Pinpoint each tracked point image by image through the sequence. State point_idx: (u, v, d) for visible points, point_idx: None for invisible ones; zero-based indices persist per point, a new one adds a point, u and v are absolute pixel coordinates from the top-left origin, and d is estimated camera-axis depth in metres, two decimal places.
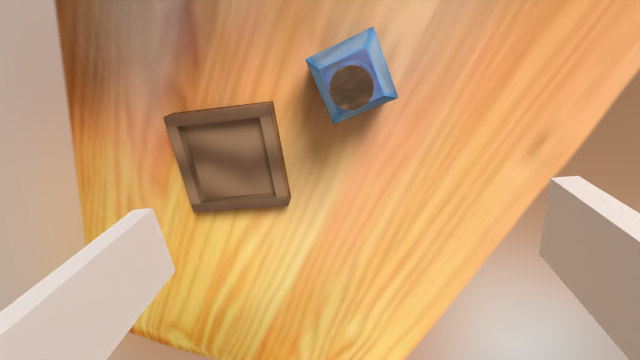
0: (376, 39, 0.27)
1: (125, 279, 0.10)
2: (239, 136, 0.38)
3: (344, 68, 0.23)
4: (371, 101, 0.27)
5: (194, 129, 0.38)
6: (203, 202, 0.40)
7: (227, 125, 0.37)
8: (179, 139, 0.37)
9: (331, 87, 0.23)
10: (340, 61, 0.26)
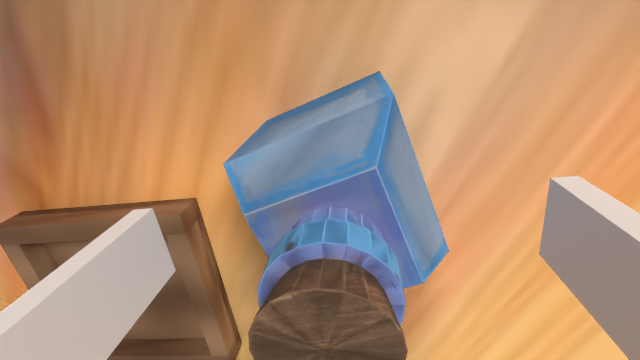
0: (401, 126, 0.10)
1: (125, 279, 0.10)
2: None
3: (297, 297, 0.06)
4: None
5: None
6: None
7: None
8: (28, 264, 0.20)
9: (255, 343, 0.07)
10: (302, 201, 0.09)
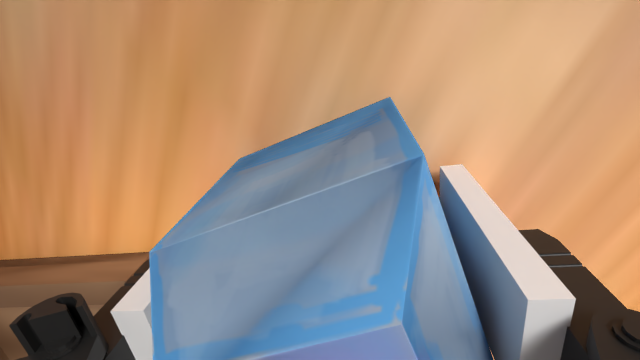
0: (436, 210, 0.06)
1: None
2: None
3: None
4: None
5: None
6: None
7: None
8: None
9: None
10: None
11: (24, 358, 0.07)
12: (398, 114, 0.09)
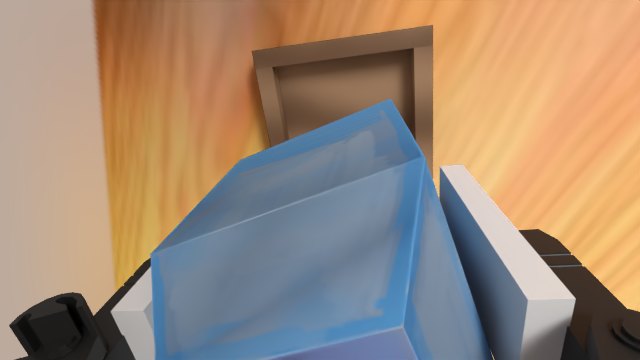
0: (437, 212, 0.06)
1: None
2: (365, 86, 0.24)
3: None
4: None
5: (294, 75, 0.24)
6: None
7: (348, 67, 0.24)
8: (274, 88, 0.23)
9: None
10: None
11: (24, 358, 0.07)
12: (399, 116, 0.09)
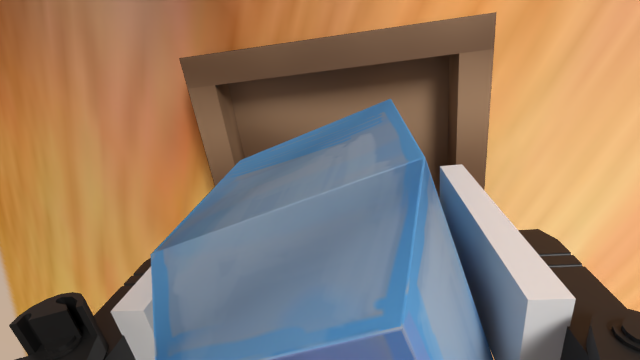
0: (437, 213, 0.06)
1: None
2: None
3: None
4: None
5: (256, 96, 0.15)
6: None
7: (344, 84, 0.14)
8: (220, 120, 0.14)
9: None
10: None
11: (24, 358, 0.07)
12: (399, 116, 0.09)
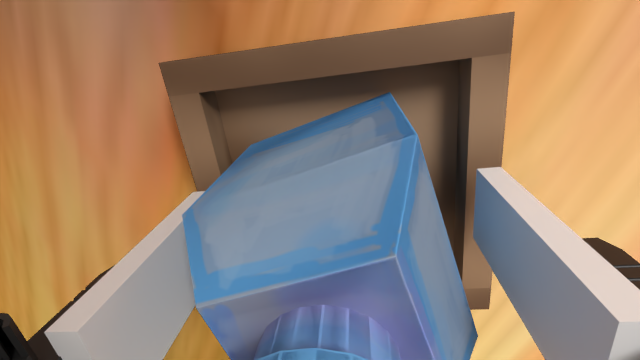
0: (426, 180, 0.07)
1: None
2: None
3: None
4: None
5: (246, 104, 0.14)
6: None
7: (343, 91, 0.13)
8: (205, 131, 0.13)
9: None
10: (282, 295, 0.06)
11: None
12: (397, 105, 0.10)
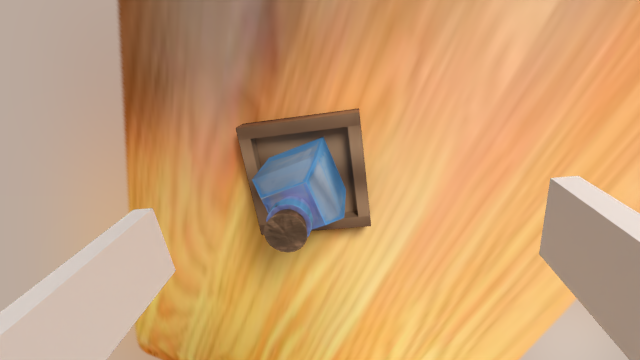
0: (319, 167, 0.27)
1: (125, 279, 0.10)
2: None
3: (277, 216, 0.23)
4: (313, 228, 0.27)
5: (267, 141, 0.34)
6: None
7: (305, 136, 0.33)
8: (252, 153, 0.33)
9: (265, 231, 0.24)
10: (281, 193, 0.26)
11: None
12: (320, 144, 0.30)
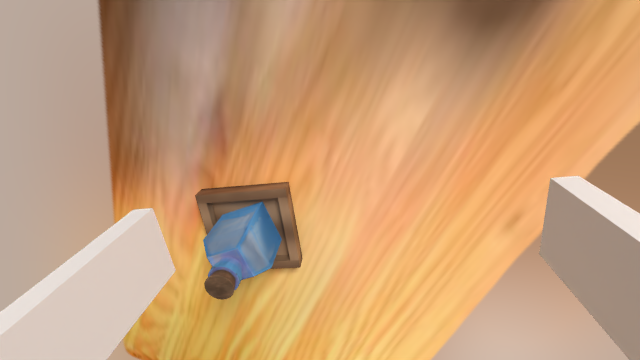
0: (250, 234, 0.38)
1: (125, 279, 0.10)
2: None
3: (213, 276, 0.34)
4: (245, 278, 0.38)
5: (220, 203, 0.44)
6: None
7: (249, 200, 0.43)
8: (208, 213, 0.43)
9: (205, 285, 0.34)
10: (221, 255, 0.37)
11: None
12: (256, 211, 0.41)
